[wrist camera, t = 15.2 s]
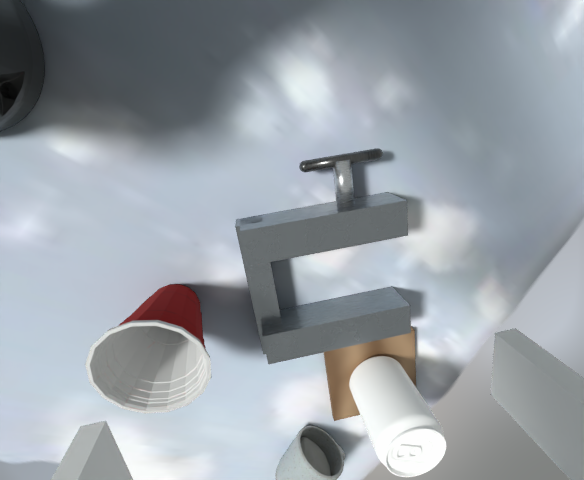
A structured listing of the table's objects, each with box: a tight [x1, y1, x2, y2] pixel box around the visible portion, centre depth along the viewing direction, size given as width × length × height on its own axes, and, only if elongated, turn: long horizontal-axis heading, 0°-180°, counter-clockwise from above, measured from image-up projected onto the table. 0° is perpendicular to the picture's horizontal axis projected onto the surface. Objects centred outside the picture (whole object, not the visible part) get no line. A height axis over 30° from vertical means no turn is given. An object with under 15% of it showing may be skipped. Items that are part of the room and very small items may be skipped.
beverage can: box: [349, 356, 446, 477], centre depth 41 cm, size 8×8×12 cm
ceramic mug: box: [276, 426, 345, 480], centre depth 47 cm, size 11×8×8 cm
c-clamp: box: [235, 148, 411, 364], centre depth 38 cm, size 18×23×5 cm
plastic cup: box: [85, 284, 211, 413], centre depth 35 cm, size 11×11×12 cm
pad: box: [324, 327, 416, 421], centre depth 47 cm, size 13×13×1 cm
